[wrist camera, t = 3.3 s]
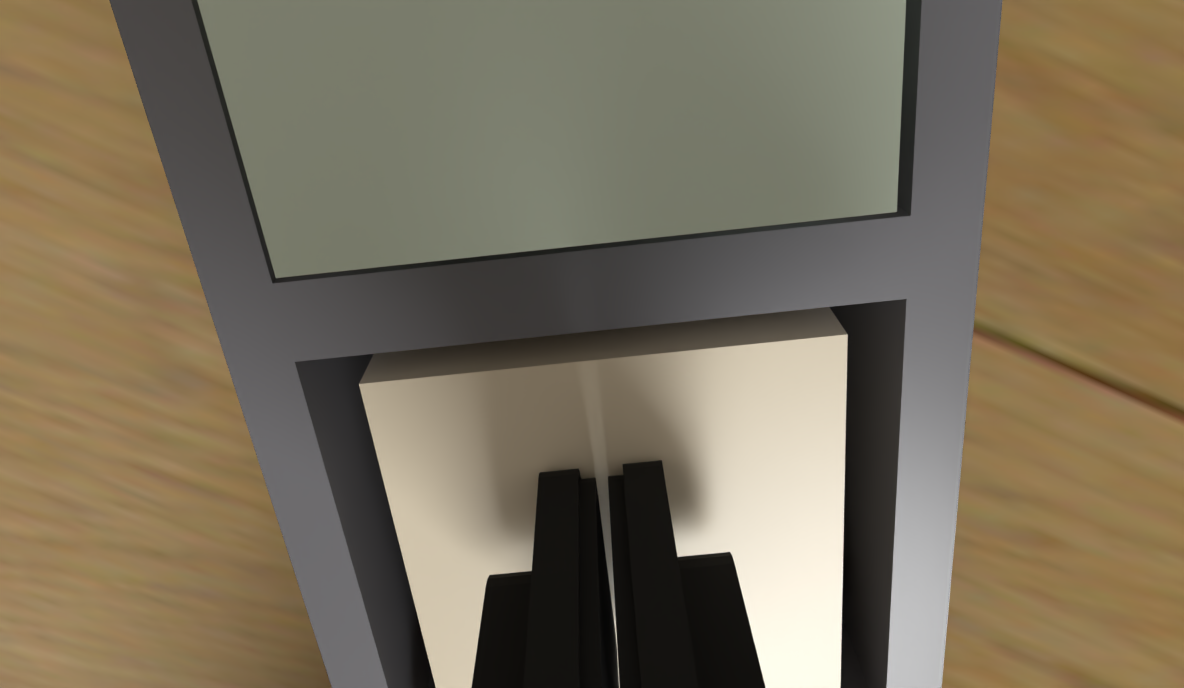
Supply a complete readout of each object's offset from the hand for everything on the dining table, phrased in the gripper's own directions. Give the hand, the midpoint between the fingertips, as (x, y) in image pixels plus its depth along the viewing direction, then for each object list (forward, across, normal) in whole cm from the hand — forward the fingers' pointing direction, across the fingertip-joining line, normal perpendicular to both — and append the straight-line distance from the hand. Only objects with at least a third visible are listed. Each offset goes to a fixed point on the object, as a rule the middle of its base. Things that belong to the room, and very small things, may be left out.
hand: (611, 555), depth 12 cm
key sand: (+4, 0, 0) cm, 4 cm away
